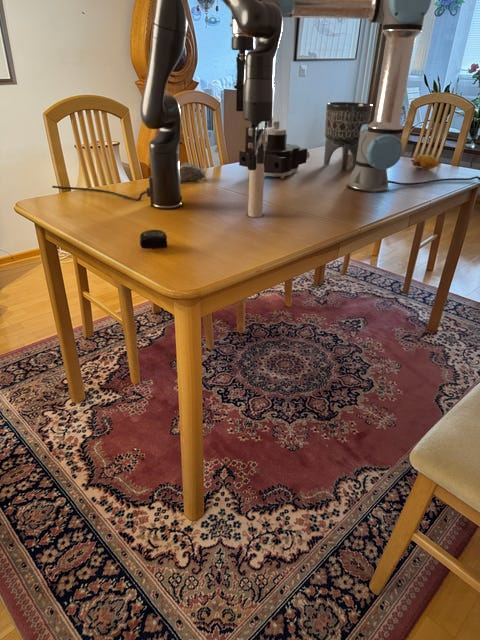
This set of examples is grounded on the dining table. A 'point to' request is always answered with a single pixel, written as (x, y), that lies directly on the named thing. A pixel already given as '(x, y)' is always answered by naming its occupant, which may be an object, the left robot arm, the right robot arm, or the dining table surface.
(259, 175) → the bottle
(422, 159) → the toy
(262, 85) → the left robot arm
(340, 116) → the planter
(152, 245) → the tape measure
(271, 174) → the mechanical component
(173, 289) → the dining table surface
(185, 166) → the rock
